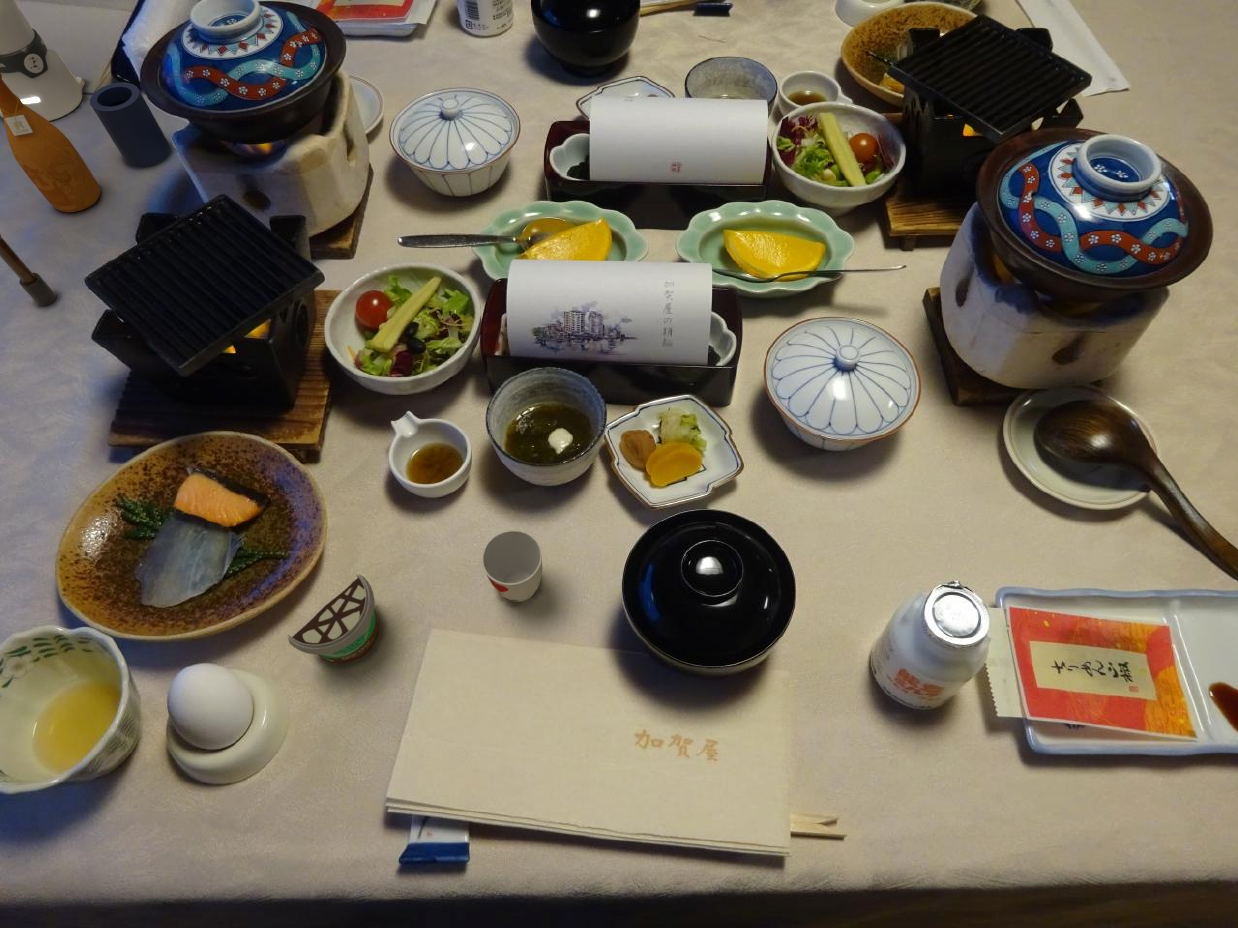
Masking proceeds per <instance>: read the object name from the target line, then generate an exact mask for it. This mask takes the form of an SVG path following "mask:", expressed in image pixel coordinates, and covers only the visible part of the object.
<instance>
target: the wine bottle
mask: <svg viewBox="0 0 1238 928" xmlns="http://www.w3.org/2000/svg"><path fill="white" fill-rule="evenodd" d="M0 110H1V112H2V115H3V118H2V119H3V123H4V129H5V134H6V138H7V142H8V145H9V147H10V150H11V152H12V155H13V157H14V158H15V160H16V162H17V163H18V165H19V166H20V168H21V169H22V170H23V172H24V173H25V174H26V176H27V177H28V178H29V180H30V181H31V182H32V183H33V184H34V187H36V188H37V190H38V191H39V193H41V195H42V197H44V199H46V201H47V202H48V203H49V204H50V205H51V206H52V207H53V208H54V209H55V210H57V211H60V212H65V213H74V212H80V211H83V210H86V209H87V208H89V207H91V206H92V205H94V204H95V203H96V202H97V200H98V199H99V197H100V196H101V187H100V185H99V183H98V181H97V180H96V178H95V176H94V175H93V173H92V171H91V170H90V168H89V167H88V165H87V164H86V162H85V161H84V159H83V157H82V156H81V155H80V153H79V152H78V150H77V148H76V147H75V145H74V144H73V143H72V142H71V140H70V139H69V138H68V137H67V135H66V134H64V133H63V131H62V130H61V129H59V128H58V127H57V126H55V125H54V123H52V122H51V121H48V120H46V119H45V118H44V117H42V116H41V115H39V114H38V113H36V112H35V111H33V110H32V109H30V108H29V107H28V106H26V105H25V104H24V103H23V102H22V101H21V100H20V99H19V98H18V97H17V96H16V95H15V94H13V93H12V91H11V90H10V89H9V88H8V86H7V85H6V84H5V83H4V81H3V80H2V75H1V73H0Z"/></svg>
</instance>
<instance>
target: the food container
mask: <svg viewBox="0 0 1238 928" xmlns="http://www.w3.org/2000/svg"><path fill="white" fill-rule="evenodd" d="M355 575H356V577H357V578H356V579H355V580H354V581H352V582H351V583H350V584H349V585H348V586H347V587H346V588H345V589H344V590H343V591H342V592H340V593H339V594H338V595H337V596H336V597H334V598H332V599H331V600H330V601H329V602H328V603H326V604H325V605H324V606H323V607H322V608H321V609H320V610H319V611H318V612H317V613H316V614H315V615H314V616H313V617H312V618H311V619H310V620H309V621H308V622H307V623H306V624H305V625H304V626H303V627H301V628H300V629H299V630H298V631H297V632H296V633H295V634H294V635H293V636H291V635H289V634H288V635H287V637H288V638H287V640H288V643H289V645H291V646H292V647H293V648H294V649H296V650H298V651H300V652H302V653H306V654H309V655H314V656H315V655H317V656H319V657H320V658H321V659H323V660H325V661H328V662H330V663H334V664H347V663H351V662H354V661H358V660H359V659H360V658H362V657H364V656H366V654H368V653H369V652H370V651H371V649H372V648H373V647H374V646H375V644H376V642H377V640H378V637H379V635H380V619H379V616H378V614H377V611H376V609H375V594H374V591H373V588H372V586H371V584H370V582H369V581H368V580H367V578H365V576H363V575H362V574H360V573H359V574H357V573H355Z"/></svg>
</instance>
